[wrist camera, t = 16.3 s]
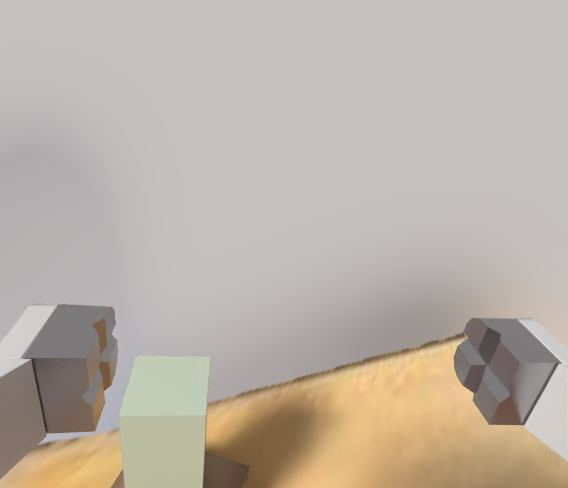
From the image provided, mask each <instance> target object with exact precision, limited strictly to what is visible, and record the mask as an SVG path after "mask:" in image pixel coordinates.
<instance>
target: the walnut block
mask: <svg viewBox="0 0 568 488" xmlns="http://www.w3.org/2000/svg"><path fill="white" fill-rule="evenodd" d="M248 470H249V466H246V465H243V464H240V463H237V462H233V461H230V460H227V459H224V458H220V457H217V456H214V455H210V454H207V453H205V461H204V479H203V488H246V486H247V478H248ZM111 488H125V485H124V473H123V470H122V471H121V473H120V474H119V476H118V478H117V479H116V481H115V482H114V484H113V485H112V487H111Z"/></svg>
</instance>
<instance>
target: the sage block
mask: <svg viewBox="0 0 568 488" xmlns="http://www.w3.org/2000/svg"><path fill="white" fill-rule="evenodd" d="M209 365H210V357H187V356H186V357H185V356H136V359H135V363H134V366H133V370H132V373H131V376H130V379H129V383H128V386H127V390H126V393H125V396H124V400H123V404H122V406H121V410H120V413H119V427H120V439H121V450H122V462H123V473H124V485H125V488H203V479H204V461H205V442H206V422H207V403H208V383H209Z"/></svg>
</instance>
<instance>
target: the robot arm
mask: <svg viewBox="0 0 568 488" xmlns="http://www.w3.org/2000/svg"><path fill="white" fill-rule="evenodd" d="M115 324H116V321H115V312H114V309H113V308H112V307H105V306H84V305H65V304H62V305H59V304H33V305H30V306H29V307H28V308H27V309H26V310H25V312H24V313H23V314H22V315H21V317H20V318H19V319H18V321H17V322H16V323H15V325H14V326H13V327H12V329H11V330H10V332H9V333H8V334H7V335H6V336H5V338H4V339H3V340H2V342H1V343H0V479H1V478H2V477H3V476H4V475H5V474H6V473H7V472H8V471H10V470H11V469H12V468H13V467H14V466H15V465H16V464H17V463H18V462H19V461H20V460H21V459H23V458H24V457H25V456H26V455H27V454H28V453H29V452H30V451H31V450H32V449H33V448H34V447H36V446H37V445H38V444H39V443H40V442H41V441H42V440H43V439H44V438H45V437H46V434H47V433H69V432H92V431H95V430H96V427H97V424H98V421H99V419H100V416H101V413H102V410H103V407H104V405H105V397H104V391H105V390H106V389H107V388H108V387H110V386H111V384H112V381H113V378H114V375H115V370H116V364H117V354H118V347H117V340H116V339H115V338H114V337H113V336H112V335H111V334H112V332H113V329H114V326H115ZM464 334H465V336H466V340H464V341H463V342H462V343H461V344H460V345H458V347H457V350H456V352H455V355H454V369H455V372H456V375H457V377H458V379H459V380H460V382H461V383H462V385H463V386H464V387H466V388H467V389H469V390H470V391H472V392H473V393H474V396H473V401H474V403H475V404H476V406H477V407H478V409H479V410H480V412H481V413H482V415H483V416H484V418H485V419H486V421H487V422H488V424H489V425H524V428H525V429H527V430H528V431H529V432H530V433H532V434H533V435H534V436H535V437H537V438H538V439H539V440H540V441H542V442H543V443H544V444H545V445H547V446H548V447H549V448H550V449H552V450H553V451H554V452H555V453H557V454H558V455H559V456H560V457H562V458H563V459H564V460H565V461H567V462H568V348H567V347H565V346H564V345H563V344H562V343H561V342H560V341H559V340H558V339H557V338H556V337H555V336H554V335H552V334H551V333H550V332H549V331H548V330H547V329H546V328H545V327H544V326H543V325H541V324H540V323H539V322H538V321H536V320H534V319H531V318H511V319H497V318H472V319H471V320H470V321H469V322H468V323H467V325H466V327H465V329H464Z"/></svg>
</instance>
